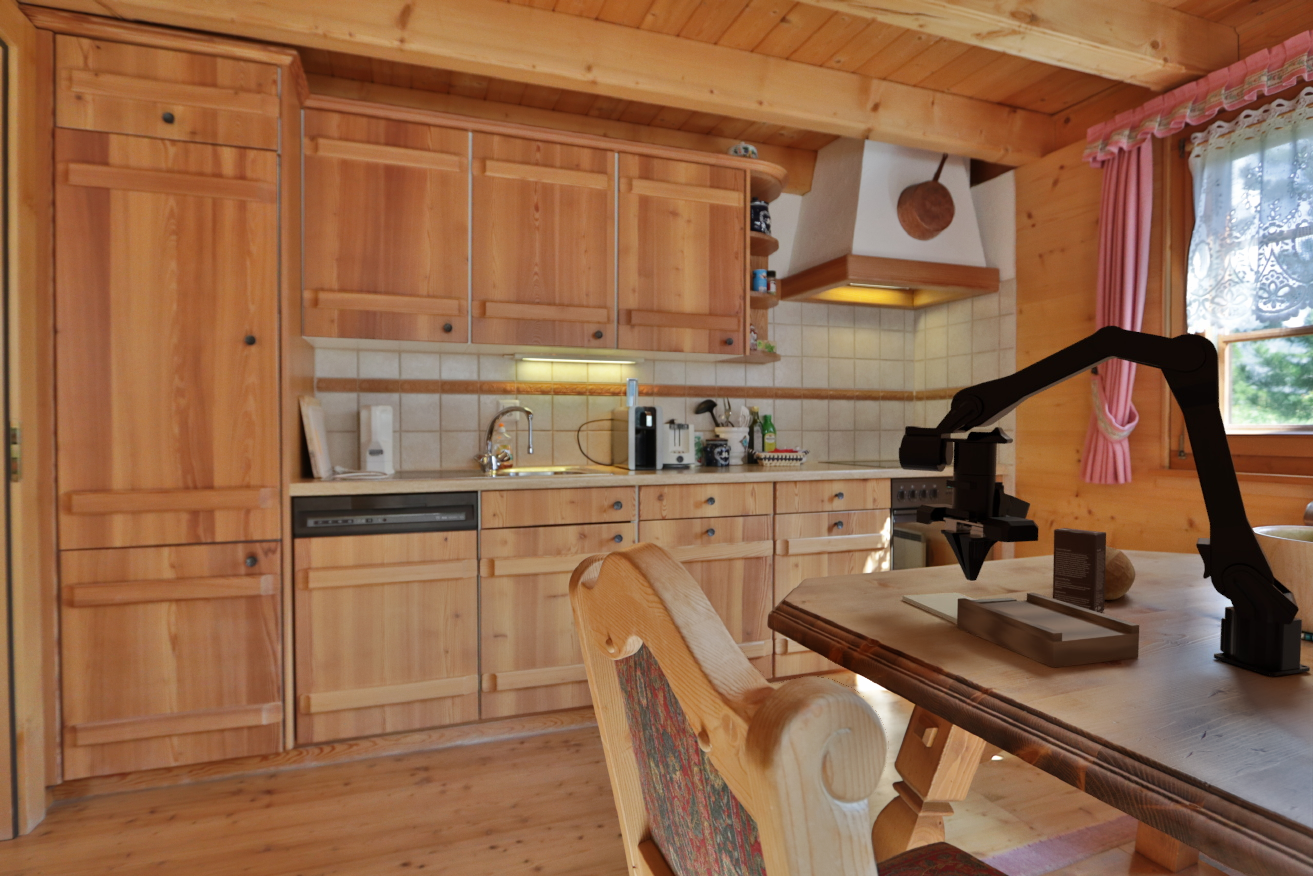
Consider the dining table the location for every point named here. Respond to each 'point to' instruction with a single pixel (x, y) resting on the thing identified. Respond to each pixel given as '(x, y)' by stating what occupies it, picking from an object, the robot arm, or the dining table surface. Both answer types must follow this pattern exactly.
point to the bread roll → (1117, 574)
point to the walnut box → (1050, 630)
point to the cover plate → (945, 603)
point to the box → (1079, 568)
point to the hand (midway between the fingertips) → (971, 580)
